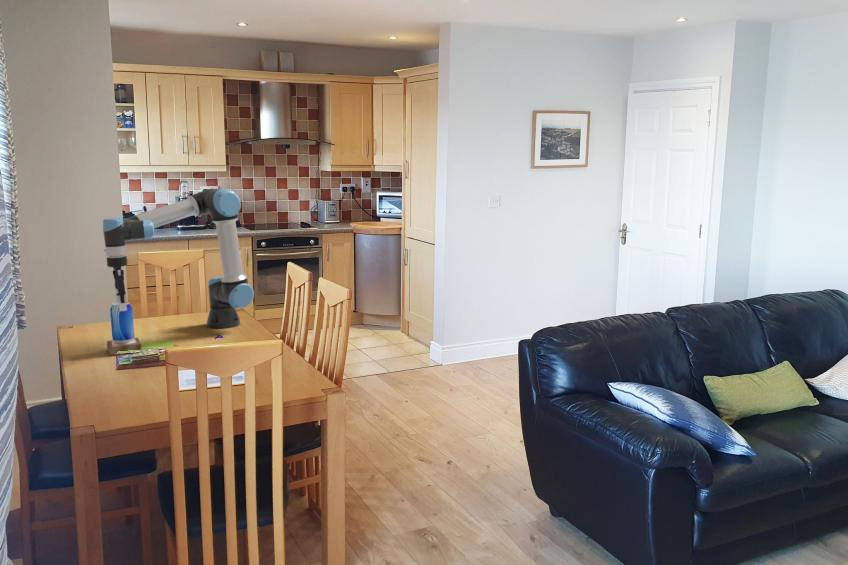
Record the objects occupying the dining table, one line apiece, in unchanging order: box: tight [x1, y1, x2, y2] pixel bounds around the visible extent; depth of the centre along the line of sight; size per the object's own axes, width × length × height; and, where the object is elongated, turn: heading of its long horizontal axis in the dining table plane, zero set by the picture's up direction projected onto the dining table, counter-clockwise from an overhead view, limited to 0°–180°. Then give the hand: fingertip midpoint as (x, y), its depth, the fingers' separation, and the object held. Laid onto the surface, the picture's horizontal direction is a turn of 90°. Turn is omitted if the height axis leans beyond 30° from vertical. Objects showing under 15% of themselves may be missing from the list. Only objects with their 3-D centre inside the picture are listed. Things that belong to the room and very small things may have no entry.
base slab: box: [106, 337, 142, 357], centre depth 298 cm, size 12×12×4 cm
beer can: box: [109, 301, 135, 343], centre depth 296 cm, size 8×8×16 cm
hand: (122, 307), depth 295 cm, fingers open, 13 cm apart
